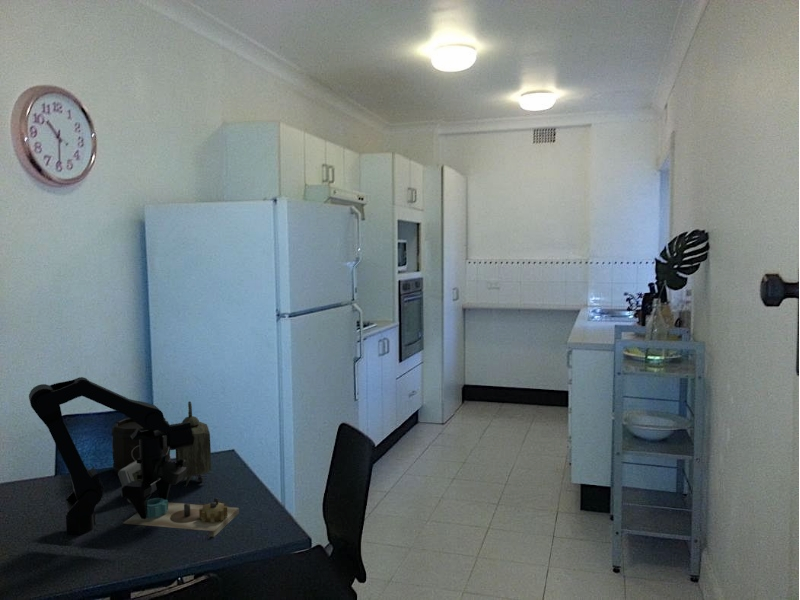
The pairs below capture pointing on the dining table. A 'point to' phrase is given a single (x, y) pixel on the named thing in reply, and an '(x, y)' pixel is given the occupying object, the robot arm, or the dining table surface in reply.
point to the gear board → (191, 517)
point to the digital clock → (131, 475)
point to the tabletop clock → (196, 449)
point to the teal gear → (156, 507)
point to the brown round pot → (128, 444)
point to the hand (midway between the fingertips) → (154, 511)
